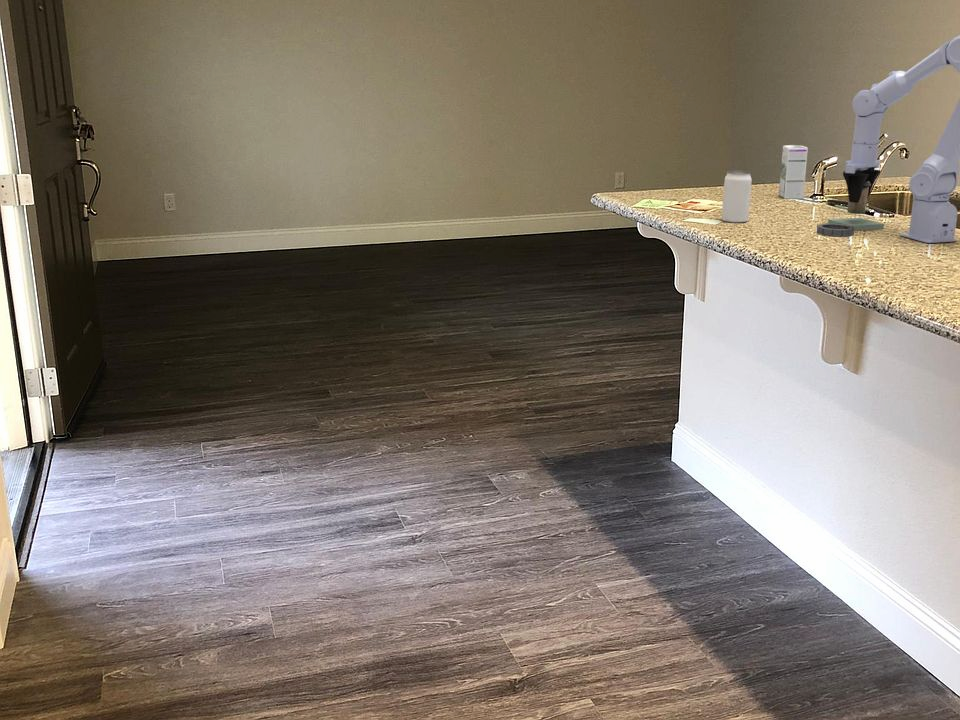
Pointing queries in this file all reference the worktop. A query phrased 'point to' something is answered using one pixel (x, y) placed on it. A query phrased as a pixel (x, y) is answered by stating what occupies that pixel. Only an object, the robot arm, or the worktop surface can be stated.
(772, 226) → the worktop surface
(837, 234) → the collar
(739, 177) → the can
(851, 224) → the pad
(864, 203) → the hook peg
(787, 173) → the syrup box
